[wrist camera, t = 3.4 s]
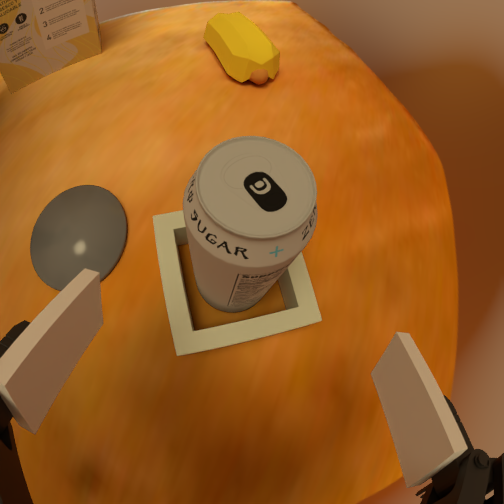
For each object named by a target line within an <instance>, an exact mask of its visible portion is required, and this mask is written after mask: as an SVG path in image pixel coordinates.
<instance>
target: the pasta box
mask: <svg viewBox="0 0 504 504" xmlns="http://www.w3.org/2000/svg"><path fill="white" fill-rule="evenodd" d="M98 54H101V33H100V27H99V22H98V16H97V11H96V4H95V0H0V72H1V74H2V76H3V78H4V81H5V83H6V85H7V87H8V89H9V91H10V93H11V94H12V93H14V92H16V91H18V90H19V89H21V88H23V87H25V86H27V85H29V84H31V83H33V82H34V81H36V80H38V79H40V78H43V77H45V76H47V75H49V74H51V73H53V72H55V71H58V70H60V69H62V68H64V67H67V66H69V65H72V64H74V63H77V62H79V61H82V60H84V59H87V58H90V57H92V56H95V55H98Z"/></svg>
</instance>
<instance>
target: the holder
mask: <svg viewBox="0 0 504 504" xmlns="http://www.w3.org/2000/svg"><path fill="white" fill-rule="evenodd" d="M153 222H154V231H155V238H156V246H157V253H158V260H159V266H160V272H161V278H162V284H163V290H164V296H165V301H166V307H167V312H168V317H169V322H170V327H171V331H172V336H173V341H174V345H175V350H176V354H177V356H182V355H187V354H193V353H198V352H203V351H207V350H212V349H217V348H221V347H226V346H230V345H235V344H239V343H243V342H247V341H251V340H255V339H259V338H263V337H267V336H271V335H275V334H279V333H282V332H286V331H290V330H293V329H297V328H300V327H304V326H307V325H310V324H313V323H316V322H319V321H322V318H321V315H320V311H319V308H318V304H317V301H316V298H315V294H314V291H313V287H312V284H311V281H310V277H309V274H308V271H307V268H306V264H305V261H304V258H303V255H302V252H300V254H299V255H298V256H297V257H296V258H295V260H294V261H293V262H292V263H291V264H290V265H289V267H288V268H287V269H286V270H285V271H284V273H283V274H282V275H281V276H280V277H279V278H278V282H279V285H280V289H281V293H282V296H283V300H284V303H285V307H286V310H284V311H281V312H277V313H273V314H269V315H264V316H260V317H256V318H252V319H248V320H243V321H239V322H235V323H230V324H226V325H221V326H217V327H212V328H207V329H202V330H197V331H195V330H194V326H193V321H192V317H191V312H190V307H189V303H188V298H187V293H186V288H185V283H184V278H183V272H182V267H181V261H180V256H179V250H178V245H183V244H188V237H187V232H186V226H185V220H184V213H183V210H182V211H176V212H171V213H166V214H161V215H156V216H153Z"/></svg>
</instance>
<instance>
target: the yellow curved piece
mask: <svg viewBox="0 0 504 504" xmlns="http://www.w3.org/2000/svg"><path fill="white" fill-rule="evenodd" d="M203 38H204V39H205V40H206V41H207V43H208V44H209V45H210V46H211V48H212V49H213V50H214V52H215V53H216V55H217V57H218V59H219V60H220V62H221V64H222V66H223V67H224V69H225V71H226V73H227V74H228V75H229V76H231V77H232V78H234V79H235V80H237V81H239V82H244V81H246V80H248V79H249V80H250V81H252V82H254V83H256V84H263V83H265V82H266V81H267V80H268V78H271V79H274V77H275V75H276V73H277V71H278V69H279V57H280V51H279V50H278V49H277V48H276V47H275V45H274V44H273V43H272V42H271V40H270V39H269V38H268V37H267V36H266V34H265V33H264V32H263V31H262V30H261V29H260V28H259V27H258V26H257V25H255V24H254V23H253V22H252V21H251V20H249V19H248V18H247V17H245V16H244V15H243V14H241V13H240V12H235V13H231V14H224V13H218V14H217V15H215V16H214V17H213V18H212V19H210V20H209V21H208V22H207V26H206V30H205V33H204V37H203Z"/></svg>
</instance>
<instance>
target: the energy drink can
mask: <svg viewBox="0 0 504 504" xmlns="http://www.w3.org/2000/svg"><path fill="white" fill-rule="evenodd" d="M316 196H317V189H316V182H315V179H314V176H313V173H312V171H311V169H310V168H309V166H308V164H307V163H306V162H305V161H304V159H303V158H302V157H301V156H300V155H299V154H298V153H296V152H295V151H294V150H293V149H291V148H290V147H288V146H286V145H285V144H283V143H280V142H278V141H276V140H273V139H269V138H265V137H258V136H242V137H237V138H232V139H229V140H227V141H224V142H222V143H220V144H218V145H217V146H215V147H214V148H212V149H211V150H210V151H209V152H208V153H207V154H206V155H205V157H204V158H203V159H202V161H201V162H200V165H199V167H198V169H197V170H196V171H195V173H194V174H193V176H192V177H191V179H190V180H189V182H188V184H187V187H186V189H185V192H184V198H183V213H184V220H185V226H186V232H187V237H188V243H189V248H190V254H191V259H192V264H193V269H194V274H195V279H196V284H197V287H198V290H199V292H200V294H201V296H202V297H203V298H204V300H205V301H206V302H207V303H208V304H210V305H211V306H212V307H214V308H216V309H218V310H221V311H225V312H240V311H244V310H247V309H249V308H250V307H252V306H254V305H255V304H256V303H257V302H258V301H259V300H260V299H261V298H262V297H263V296H264V295H265V293H266V292H267V291H268V290H269V289H270V288H271V287H272V285H273V284H274V283H275V282H276V281H277V280H278V278H279V277H280V276H281V275H282V274H283V273H284V271H285V270H286V269H287V268H288V267H289V265H290V264H291V263H292V262H293V261H294V260H295V258H296V257H297V256H298V255H299V254H300V252H301V251H302V250H303V249H304V248H305V246H306V245H307V243H308V242H309V240H310V239H311V237H312V235H313V232H314V230H315V227H316V221H317V204H316Z"/></svg>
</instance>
